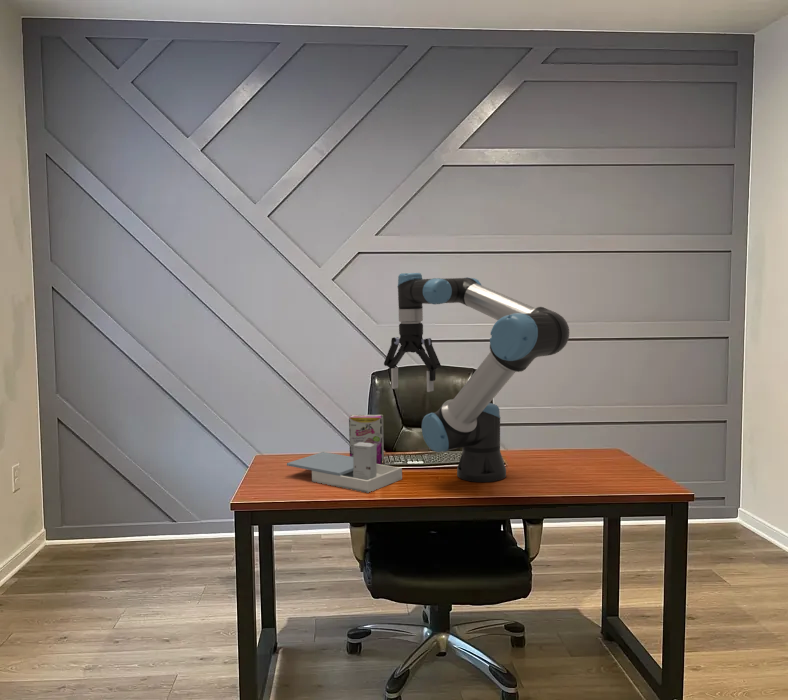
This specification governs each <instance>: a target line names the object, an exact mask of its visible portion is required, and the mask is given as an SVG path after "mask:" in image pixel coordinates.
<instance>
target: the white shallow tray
mask: <svg viewBox="0 0 788 700" xmlns="http://www.w3.org/2000/svg"><path fill="white" fill-rule="evenodd" d="M401 480H403V468H402V467H400V466H399V467H398V466H392V465H388V464H387V465H386V464H376V477H374V478H372V479H369V480H363V479H358V478H353V471H351V472H348V473H345V474H343V475H340V476H339V475H333V474H328V473H323V472H318V471H312V470H311V482H312V483H316V482H317V483H316V484H321V483H322V484H321V485H325V484H327V486H330V485H331V487H335V486H336V488H340V487H342V488H341V489H345V488H346V490H350V489H352V490H351V491H355V490H356V491H355V492H360V491H361V493H365V492H366V494H369V492H370V493H372V492H374V491H376V489H377V490H379V489H382V488H384V487H386V486H388V485H391V484H393V483H397V482H398V481H401ZM371 491H372V492H371Z"/></svg>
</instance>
